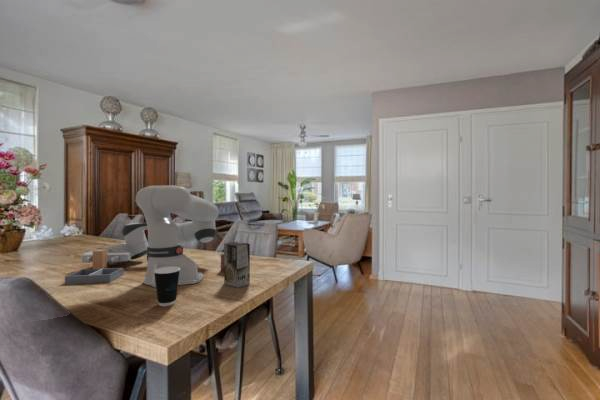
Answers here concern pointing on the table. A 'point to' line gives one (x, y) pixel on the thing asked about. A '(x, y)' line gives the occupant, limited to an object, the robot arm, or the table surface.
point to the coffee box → (237, 264)
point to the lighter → (222, 261)
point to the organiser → (94, 275)
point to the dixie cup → (166, 284)
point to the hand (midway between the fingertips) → (98, 260)
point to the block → (99, 259)
